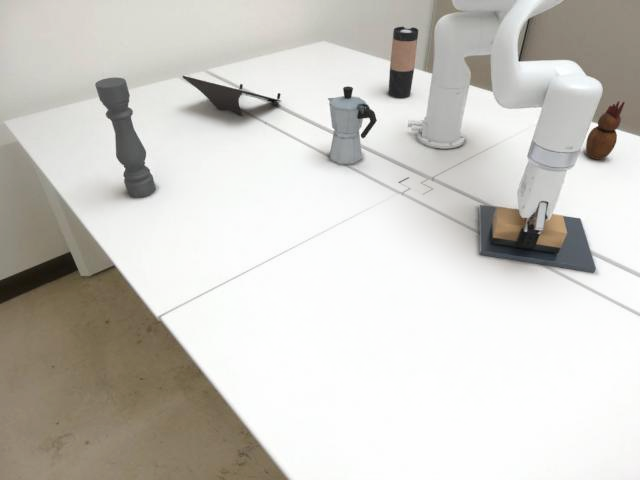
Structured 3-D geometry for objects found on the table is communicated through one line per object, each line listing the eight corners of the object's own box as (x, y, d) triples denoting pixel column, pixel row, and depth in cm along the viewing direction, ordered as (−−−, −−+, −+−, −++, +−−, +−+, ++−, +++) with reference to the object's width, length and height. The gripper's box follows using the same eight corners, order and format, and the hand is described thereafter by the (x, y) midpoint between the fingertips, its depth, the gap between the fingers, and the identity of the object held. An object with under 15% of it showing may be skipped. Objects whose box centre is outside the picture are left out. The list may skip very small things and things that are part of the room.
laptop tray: (283, 125, 146) (289, 95, 144) (237, 116, 126) (244, 82, 124) (228, 109, 156) (233, 82, 153) (178, 100, 136) (183, 68, 133)
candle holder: (161, 186, 106) (133, 79, 91) (145, 200, 102) (113, 89, 86) (138, 181, 108) (108, 75, 92) (122, 195, 103) (86, 86, 88)
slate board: (479, 254, 87) (480, 250, 86) (479, 208, 99) (480, 204, 98) (594, 272, 83) (596, 268, 82) (578, 222, 95) (580, 218, 94)
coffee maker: (316, 154, 118) (315, 86, 107) (338, 143, 123) (339, 76, 112) (361, 174, 110) (365, 102, 99) (382, 161, 115) (389, 91, 104)
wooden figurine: (611, 163, 114) (636, 105, 105) (586, 161, 115) (609, 103, 106) (603, 150, 119) (627, 94, 110) (579, 148, 120) (601, 92, 111)
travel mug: (396, 100, 147) (403, 34, 134) (383, 92, 152) (388, 28, 140) (415, 96, 149) (424, 30, 137) (401, 88, 155) (408, 25, 142)
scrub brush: (491, 243, 87) (497, 222, 84) (490, 226, 91) (496, 206, 88) (558, 254, 85) (567, 232, 82) (554, 236, 89) (562, 215, 86)
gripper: (525, 128, 84) (501, 209, 95) (534, 174, 71) (505, 262, 82) (569, 133, 82) (539, 215, 93) (586, 181, 69) (549, 269, 80)
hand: (523, 236), depth 88 cm, fingers closed on scrub brush, 5 cm apart
